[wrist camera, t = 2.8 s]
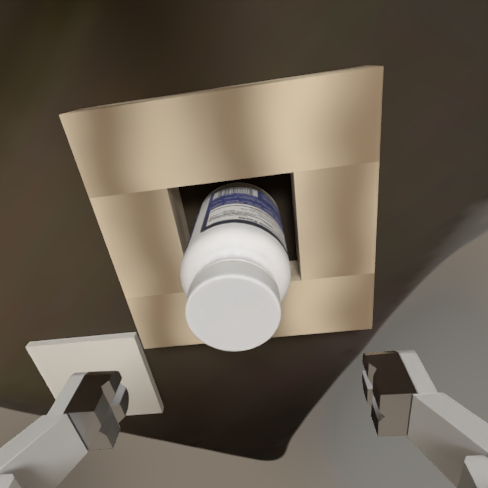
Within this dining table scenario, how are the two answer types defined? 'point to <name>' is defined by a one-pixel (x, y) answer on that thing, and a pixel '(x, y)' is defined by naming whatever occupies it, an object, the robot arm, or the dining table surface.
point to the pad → (99, 365)
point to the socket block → (232, 168)
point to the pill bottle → (235, 268)
